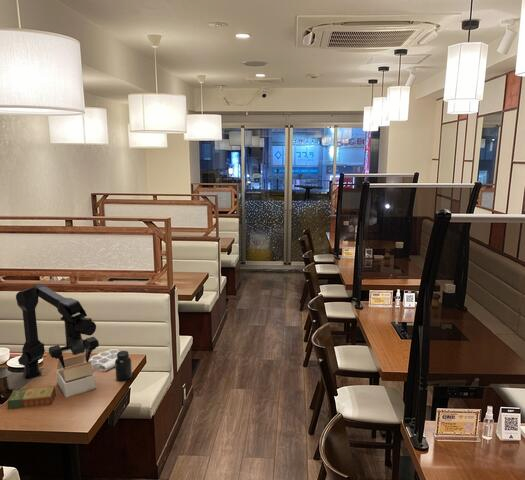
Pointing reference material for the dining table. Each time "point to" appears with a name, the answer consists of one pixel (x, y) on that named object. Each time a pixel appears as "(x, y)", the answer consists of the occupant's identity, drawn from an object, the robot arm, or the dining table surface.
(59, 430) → the dining table surface
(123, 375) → the supplement bottle
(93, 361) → the white egg tray
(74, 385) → the crate
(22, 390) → the carton
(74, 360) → the flap
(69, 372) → the flap
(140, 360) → the dining table surface
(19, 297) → the robot arm
